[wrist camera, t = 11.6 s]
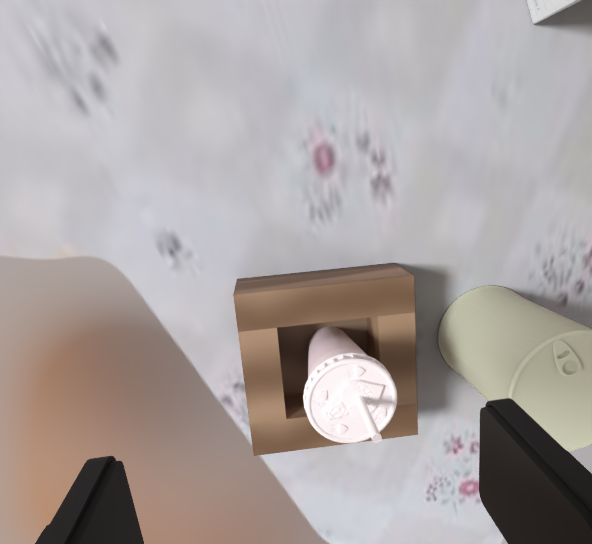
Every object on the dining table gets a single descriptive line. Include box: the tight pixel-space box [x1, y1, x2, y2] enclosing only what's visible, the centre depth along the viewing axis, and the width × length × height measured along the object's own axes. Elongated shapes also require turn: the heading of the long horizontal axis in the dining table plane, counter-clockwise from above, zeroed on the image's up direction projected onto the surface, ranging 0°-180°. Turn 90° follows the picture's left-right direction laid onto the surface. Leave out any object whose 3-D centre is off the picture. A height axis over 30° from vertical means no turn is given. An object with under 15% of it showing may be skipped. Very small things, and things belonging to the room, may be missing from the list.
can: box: [438, 286, 592, 451], centre depth 34 cm, size 9×9×12 cm
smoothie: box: [303, 327, 397, 443], centre depth 30 cm, size 6×6×14 cm
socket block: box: [234, 263, 418, 456], centre depth 36 cm, size 14×14×5 cm
